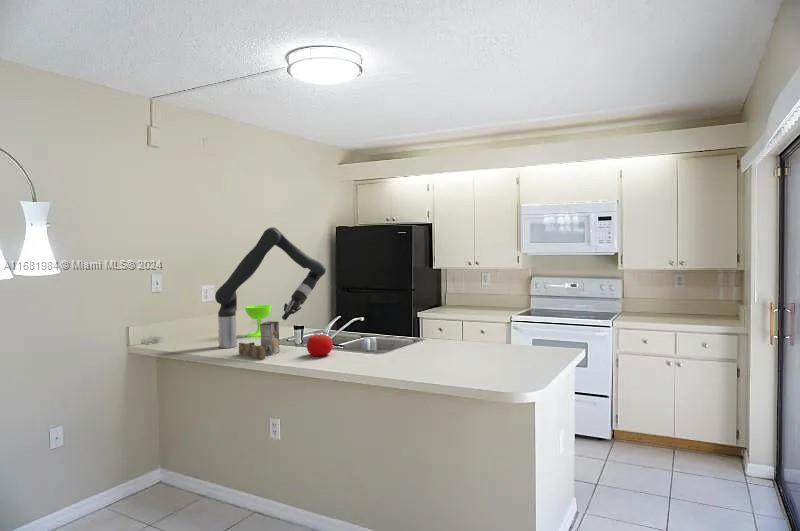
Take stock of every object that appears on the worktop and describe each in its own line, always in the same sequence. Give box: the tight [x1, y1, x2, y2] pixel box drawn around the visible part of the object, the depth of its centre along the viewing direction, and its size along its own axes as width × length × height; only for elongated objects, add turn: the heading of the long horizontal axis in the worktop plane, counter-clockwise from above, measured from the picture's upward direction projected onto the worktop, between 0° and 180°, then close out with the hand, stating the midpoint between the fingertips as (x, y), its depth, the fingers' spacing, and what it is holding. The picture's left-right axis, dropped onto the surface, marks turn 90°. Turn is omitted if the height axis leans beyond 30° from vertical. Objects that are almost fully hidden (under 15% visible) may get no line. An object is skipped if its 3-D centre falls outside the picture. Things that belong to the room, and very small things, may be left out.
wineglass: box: [244, 304, 272, 338], centre depth 353 cm, size 16×16×18 cm
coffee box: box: [260, 320, 281, 356], centre depth 293 cm, size 9×6×16 cm
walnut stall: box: [238, 342, 267, 360], centre depth 287 cm, size 22×5×6 cm, turn 47°
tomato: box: [306, 334, 334, 357], centre depth 285 cm, size 14×13×10 cm
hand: (283, 319), depth 299 cm, fingers closed
